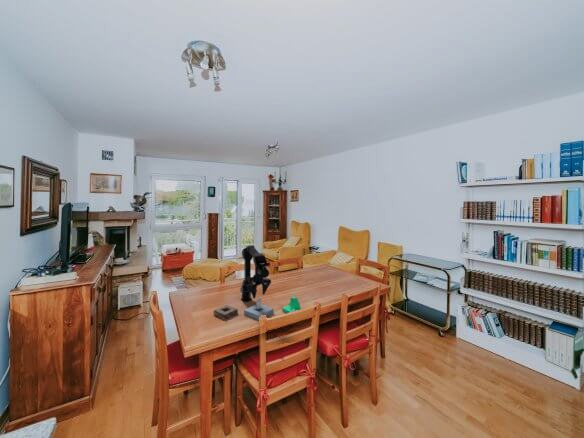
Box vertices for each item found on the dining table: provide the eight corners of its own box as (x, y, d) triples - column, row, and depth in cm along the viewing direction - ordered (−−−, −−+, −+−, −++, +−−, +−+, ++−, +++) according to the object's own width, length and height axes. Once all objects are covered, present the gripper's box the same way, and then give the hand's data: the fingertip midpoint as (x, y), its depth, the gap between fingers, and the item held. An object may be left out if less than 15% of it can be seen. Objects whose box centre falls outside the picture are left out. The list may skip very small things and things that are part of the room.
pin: (258, 312, 171) (258, 297, 171) (262, 313, 169) (262, 299, 169) (255, 313, 169) (255, 299, 168) (258, 315, 167) (259, 300, 166)
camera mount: (281, 311, 174) (282, 296, 173) (289, 308, 179) (290, 294, 178) (293, 317, 165) (293, 302, 164) (301, 314, 170) (302, 299, 170)
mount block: (226, 309, 175) (226, 304, 175) (237, 313, 169) (237, 309, 168) (213, 314, 166) (213, 310, 166) (224, 319, 160) (224, 314, 160)
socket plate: (258, 307, 179) (258, 303, 179) (273, 312, 171) (273, 308, 170) (243, 314, 167) (244, 310, 167) (259, 320, 159) (259, 315, 159)
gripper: (259, 268, 180) (259, 289, 181) (240, 274, 164) (240, 297, 165) (271, 271, 173) (271, 293, 174) (252, 277, 158) (252, 301, 159)
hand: (258, 296), depth 168 cm, fingers open, 9 cm apart
